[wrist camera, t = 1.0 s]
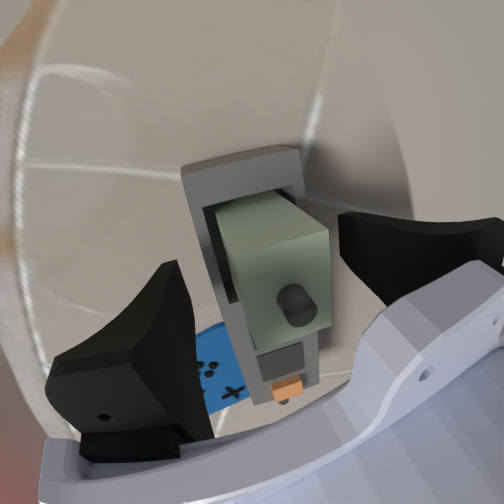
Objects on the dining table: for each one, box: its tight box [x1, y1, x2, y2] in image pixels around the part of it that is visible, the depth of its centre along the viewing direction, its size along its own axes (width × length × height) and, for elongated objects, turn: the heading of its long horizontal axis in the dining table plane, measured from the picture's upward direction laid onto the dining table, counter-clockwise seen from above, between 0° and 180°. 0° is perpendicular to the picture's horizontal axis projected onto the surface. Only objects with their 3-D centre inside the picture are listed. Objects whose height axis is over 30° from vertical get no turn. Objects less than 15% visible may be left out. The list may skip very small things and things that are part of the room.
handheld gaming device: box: [196, 322, 250, 415], centre depth 19 cm, size 8×1×15 cm
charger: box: [212, 190, 332, 351], centre depth 11 cm, size 4×3×7 cm
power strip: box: [181, 145, 319, 406], centre depth 17 cm, size 21×5×4 cm, turn 11°
